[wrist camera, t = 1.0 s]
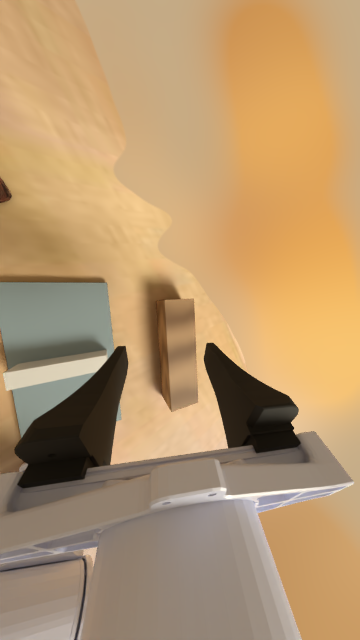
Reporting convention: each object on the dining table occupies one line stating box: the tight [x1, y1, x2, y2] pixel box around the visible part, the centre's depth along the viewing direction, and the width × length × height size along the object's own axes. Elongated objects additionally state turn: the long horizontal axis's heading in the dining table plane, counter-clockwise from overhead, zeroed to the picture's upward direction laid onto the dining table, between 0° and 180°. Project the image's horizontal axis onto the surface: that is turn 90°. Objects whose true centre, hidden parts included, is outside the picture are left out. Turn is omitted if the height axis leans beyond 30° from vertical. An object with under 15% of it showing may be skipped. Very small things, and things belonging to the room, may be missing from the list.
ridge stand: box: [0, 282, 121, 438], centre depth 20 cm, size 22×12×4 cm, turn 3°
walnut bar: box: [156, 299, 198, 412], centre depth 27 cm, size 18×5×5 cm, turn 3°
